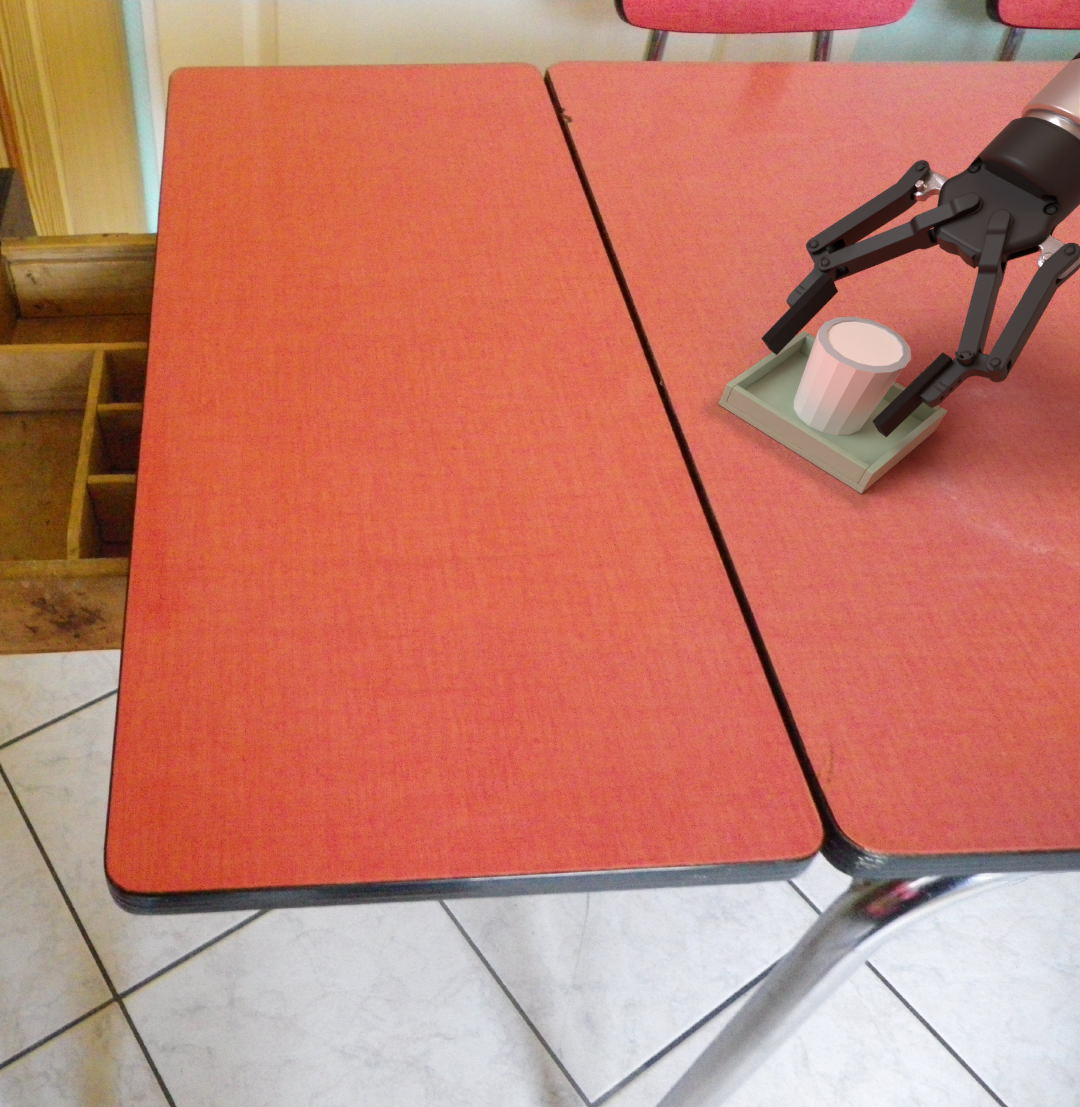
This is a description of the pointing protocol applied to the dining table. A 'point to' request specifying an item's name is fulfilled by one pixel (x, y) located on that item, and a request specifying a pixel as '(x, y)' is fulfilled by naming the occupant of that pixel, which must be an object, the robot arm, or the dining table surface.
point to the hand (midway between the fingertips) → (821, 386)
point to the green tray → (846, 457)
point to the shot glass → (849, 374)
